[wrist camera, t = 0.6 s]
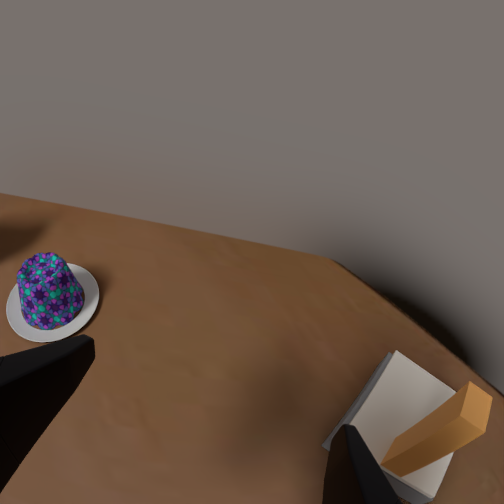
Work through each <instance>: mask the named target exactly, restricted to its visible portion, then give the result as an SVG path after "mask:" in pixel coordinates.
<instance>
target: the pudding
mask: <svg viewBox="0 0 504 504" xmlns="http://www.w3.org/2000/svg"><path fill="white" fill-rule="evenodd" d="M79 283H80V284H79ZM80 285H81V286H82V287H81V286H80ZM82 288H83V290H84V294H85V301H84V305H83V299H82V297H81V293H82ZM98 300H99V288H98V284H97V282H96V280H95V278H94V277H93V276H92V275H91V273H89V272H88V271H87V270H86V269H84V268H82V267H80V266H77V265H74V264H69V263H66V262H65V261H64V260H63V259H62V258H61V257H58V255H57V254H55V253H46V254H44V253H38V254H36V255H34V256H33V257H32V258H29V259H27V260H26V261H24V263H23V264H22V268H21V269H20V270H19V271H18V274H17V284H16V285H15V286H14V288H13V289H12V291H11V293H10V295H9V298H8V301H7V309H6V313H7V318H8V321H9V323H10V325H11V327H12V328H13V330H14V331H15V332H16V333H17V334H19V335H20V336H22V337H23V338H25V339H28V340H31V341H35V342H52V341H56V340H60V339H63V338H65V337H68V336H70V335H71V334H73V333H75V332H76V331H78V330H79V329H80V328H81V327H83V326H84V325H85V324H86V323H87V322H88V320H89V319H90V318H91V316H92V315H93V313H94V312H95V309H96V307H97V304H98ZM82 306H83V308H82ZM81 308H82V310H81V312H80V313H79V315H78V316H77V317H76V318H75V319H74V320H73V321H71V320H72V319H73V318H74V313H75V312H77V311H79V310H80V309H81ZM21 309H22V311H23V313H24V318H25V320H26V321H25V320H24V318H23V316H22V313H21ZM70 321H71V322H70ZM26 322H27V323H28V324H27V323H26ZM69 322H70V323H69ZM68 323H69V324H68ZM29 324H30V325H31V326H32V325H38V326H39V327H40V329H43V330H39V329H35V328H33V327H31V326H30V325H29ZM65 324H67V325H65ZM56 325H65V326H63V327H61V328H59V329H55V330H50V329H53V328H54V327H55V326H56ZM46 330H47V331H46Z"/></svg>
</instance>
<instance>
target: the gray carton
mask: <svg viewBox="0 0 504 504" xmlns="http://www.w3.org/2000/svg"><path fill="white" fill-rule="evenodd" d="M392 356H393V355H392V354H391V353H390V352H389V353H388V354H387V355H386V356H385V357H384V359H383V360H382V361H381V362H380V363H379V365H378V366H377V368H376V369H375V371H374V372H373V374H372V376H371V377H370V379H369V380H368V382H367V383H366V385H365V386H364V388H363V389H362V391H361V392H360V394H359V395H358V397H357V398H356V400H355V401H354V402H353V404H352V405H351V407H350V408H349V409H348V411H347V412H346V414H345V415H344V416H343V418H342V419H341V420H340V422H339V423H338V424H337V426H336V427H335V428H334V430H333V431H332V432H331V434H330V435H329V436H328V437H327V439H326V440H325V441H324V442H323V444H322V445H321V446H323V447H324V448H325V449H327V450H328V451H330V445H331V441H332V438H333V436H334V435H335V434H336V432H337V431H338V430H339V428H340V427H341V426H342V425H343V424H349V423H350V422H351V421H352V419H353V418H354V416H355V415H356V413H357V412H358V410H359V409H360V407H361V406H362V404H363V403H364V401H365V400H366V398H367V397H368V395H369V394H370V392H371V391H372V389H373V387H374V386H375V384H376V383H377V381H378V379H379V378H380V376H381V374H382V373H383V371H384V369H385V368H386V366H387V364H388V363H389V361H390V359H391V357H392ZM382 471H383V472H384V474H385V476H386V477H387V479H388V481H389V482H390V484H391V486H392V487H393V489H394V490H395V492H396V494H397V495H398V496H399V497H401V498H403V499H404V500H406V501H408V502H410V503H412V504H424V503H428V502H431V501H432V500H433V498H434V497H433V498H429V497H427V496H426V495H424V494H422V493H420V492H419V491H417V490H415V489H413V488H412V487H410V486H408V485H407V484H405V483H403V482H402V481H400V480H398V479H397V478H395V477H393V476H392V475H390V474H389V473H387V472H385V471H384V470H382Z"/></svg>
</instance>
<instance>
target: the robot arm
mask: <svg viewBox="0 0 504 504" xmlns="http://www.w3.org/2000/svg"><path fill="white" fill-rule="evenodd" d="M94 359H95V345H94V340H93V338H91V337H89V336H87V335H85V334H82V335H79V336H75V337H72V338H68V339H65V340H61V341H58V342H54V343H51V344H47V345H43V346H40V347H36V348H32V349H29V350H25V351H21V352H18V353H14V354H10V355H6V356H5V357H4V356H2V357H0V493H1V492H2V490H3V489H4V487H5V486H6V484H7V483H8V481H9V480H10V478H11V477H12V475H13V474H14V473H15V471H16V470H17V468H18V467H19V465H20V464H21V462H22V461H23V460H24V458H25V457H26V455H27V454H28V453H29V451H30V450H31V448H32V447H33V446H34V444H35V443H36V442H37V440H38V439H39V438H40V436H41V435H42V434H43V432H44V431H45V430H46V428H47V427H48V426H49V424H50V423H51V422H52V420H53V419H54V418H55V416H56V415H57V414H58V412H59V411H60V410H61V408H62V407H63V406H64V405H65V403H66V402H67V401H68V399H69V398H70V397H71V396H72V394H73V393H74V392H75V390H76V389H77V387H78V386H79V384H80V382H81V381H82V379H83V377H84V376H85V374H86V373H87V371H88V369H89V368H90V366H91V365H92V363H93V361H94ZM398 498H399V497H398V495H397V494H396V492H395V490H394V489H393V487H392V486H391V484H390V482H389V481H388V479H387V477H386V476H385V474H384V472H383V471H382V469H381V468H380V466H379V464H378V463H377V461H376V459H375V458H374V456H373V454H372V453H371V451H370V450H369V448H368V446H367V445H366V443H365V441H364V440H363V438H362V436H361V435H360V433H359V432H358V430H357V428H356V427H355V426H354V425H350V424H343V425H342V426H341V427H340V428H339V430H338V431H337V432H336V434H335V435H334V436H333V438H332V441H331V445H330V451H329V457H328V462H327V467H326V472H325V478H324V489H323V501H322V504H403V503H402V502H401V500H400V499H398Z"/></svg>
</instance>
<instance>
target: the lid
mask: <svg viewBox="0 0 504 504" xmlns="http://www.w3.org/2000/svg"><path fill="white" fill-rule="evenodd" d="M492 398H493V397H491V396H490V395H488V394H487V393H486V392H484V391H483V390H481V389H480V388H479V387H477V386H476V385H474V384H473V383H472V382H470V381H469V382H468V383H467V384H466V385H465V386H463V387H462V388H461V389H460V390H459V391H458V392H455V391H454V390H453V389H451V388H450V387H448V386H447V385H445V384H444V383H443V382H441V381H440V380H438V379H437V378H435V377H434V376H432V375H431V374H430V373H428V372H427V371H425V370H424V369H422V368H421V367H420V366H418V365H417V364H415V363H414V362H412V361H411V360H410V359H408V358H407V357H405V356H404V355H402V354H401V353H400V352H398V351H397V350H396V351H395V352H394V354H393V356H392V357H391V359H390V361H389V363H388V364H387V366H386V368H385V369H384V371H383V373H382V374H381V376H380V378H379V379H378V381H377V383H376V384H375V386H374V387H373V389H372V391H371V392H370V394H369V395H368V397H367V398H366V400H365V401H364V403H363V404H362V406H361V407H360V409H359V410H358V412H357V413H356V415H355V416H354V418H353V419H352V421H351V422H350V423H349V424H350V425H354V426H355V427H356V428H357V430H358V432H359V433H360V435H361V436H362V438H363V440H364V441H365V443H366V445H367V446H368V448H369V450H370V451H371V453H372V454H373V456H374V458H375V459H376V461H377V463H378V464H379V466H380V468H381V469H382V470H384V471H385V472H387V473H389V474H390V475H392V476H393V477H395V478H397V479H398V480H400V481H402V482H403V483H405V484H407V485H408V486H410V487H412V488H413V489H415V490H417V491H419V492H420V493H422V494H424V495H426V496H427V497H429V498H433V497H435V495H436V492H437V490H438V488H439V486H440V484H441V482H442V479H443V477H444V475H445V472H446V470H447V468H448V465H449V463H450V460H451V457H452V455H453V452H454V451H455V450H457V449H459V448H461V447H462V446H464V445H466V444H467V443H469V442H471V441H472V440H474V439H476V438H477V437H479V436H480V435H482V434H483V433H485V430H486V426H487V421H488V417H489V413H490V408H491V403H492Z"/></svg>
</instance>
